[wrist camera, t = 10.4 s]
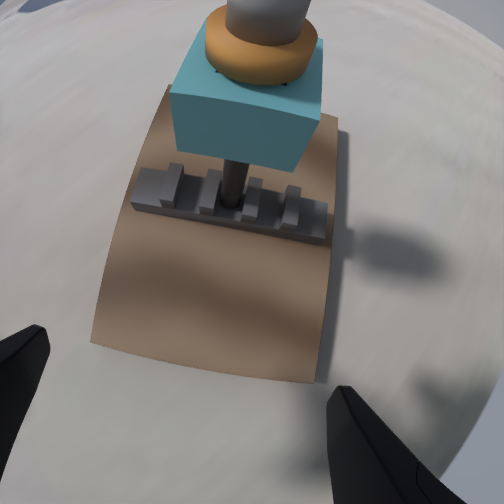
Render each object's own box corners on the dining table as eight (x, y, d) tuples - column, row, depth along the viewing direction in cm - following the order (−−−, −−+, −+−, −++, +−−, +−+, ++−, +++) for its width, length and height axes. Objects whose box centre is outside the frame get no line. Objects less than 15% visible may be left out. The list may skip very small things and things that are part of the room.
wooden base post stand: (306, 380, 19) (539, 469, 3) (98, 341, 18) (-141, 339, 1) (331, 127, 24) (429, -38, 8) (170, 96, 23) (157, -94, 7)
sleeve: (292, 172, 10) (320, 120, 7) (177, 150, 10) (169, 92, 7) (301, 92, 11) (322, 39, 8) (205, 73, 11) (207, 16, 8)
